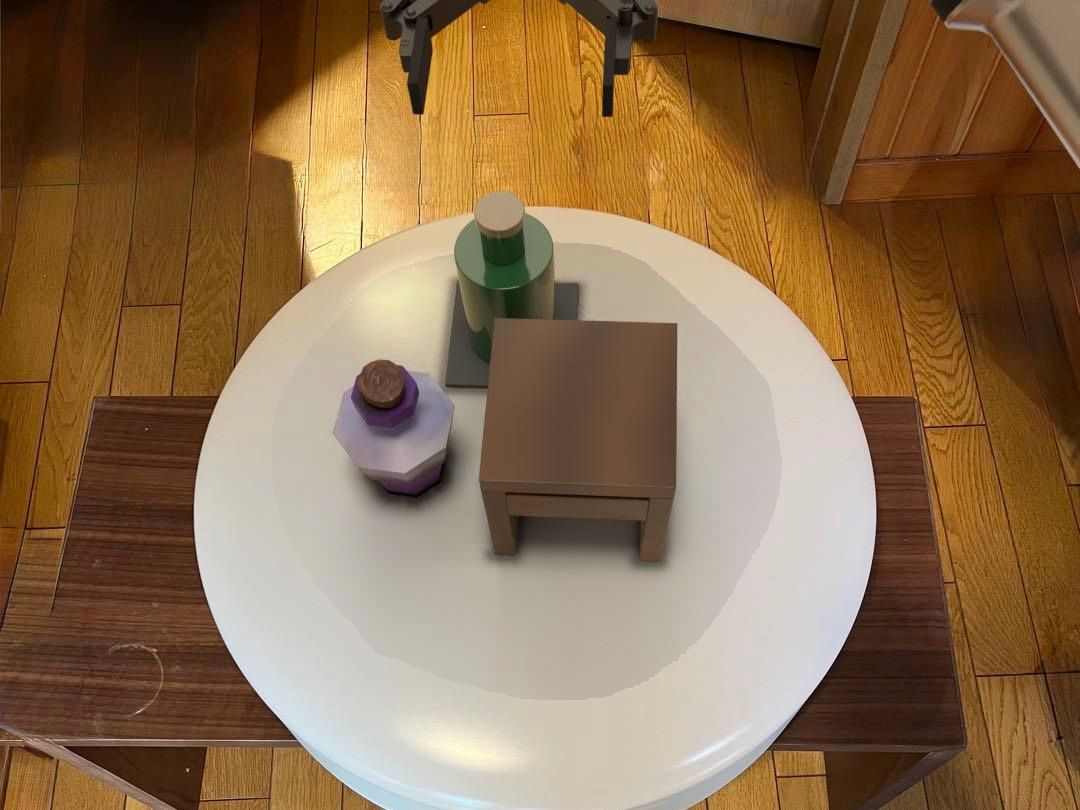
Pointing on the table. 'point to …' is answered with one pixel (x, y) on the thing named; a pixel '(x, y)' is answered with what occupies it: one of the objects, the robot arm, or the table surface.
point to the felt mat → (463, 359)
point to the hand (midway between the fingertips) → (510, 100)
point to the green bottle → (503, 268)
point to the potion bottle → (396, 427)
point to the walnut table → (580, 426)
